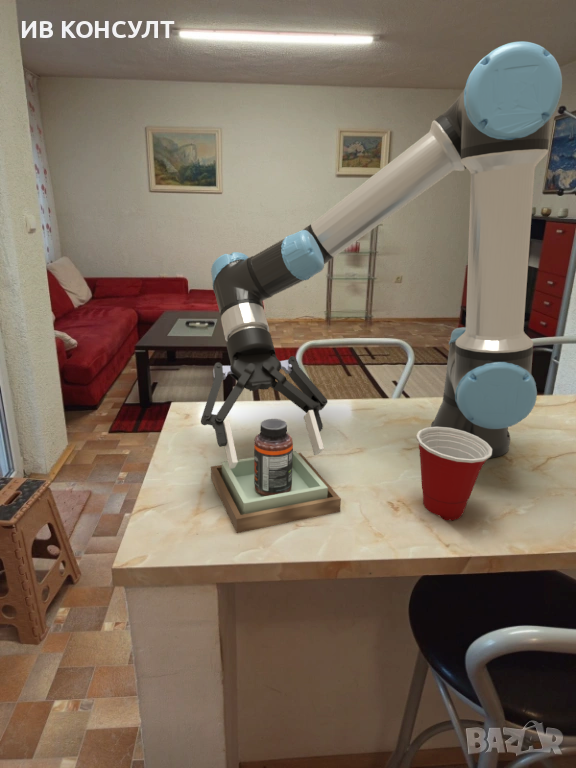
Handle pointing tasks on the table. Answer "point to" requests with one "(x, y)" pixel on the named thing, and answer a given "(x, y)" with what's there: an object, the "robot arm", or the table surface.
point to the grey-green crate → (251, 501)
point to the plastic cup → (449, 468)
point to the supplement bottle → (273, 458)
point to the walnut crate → (276, 514)
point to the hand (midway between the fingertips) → (277, 458)
